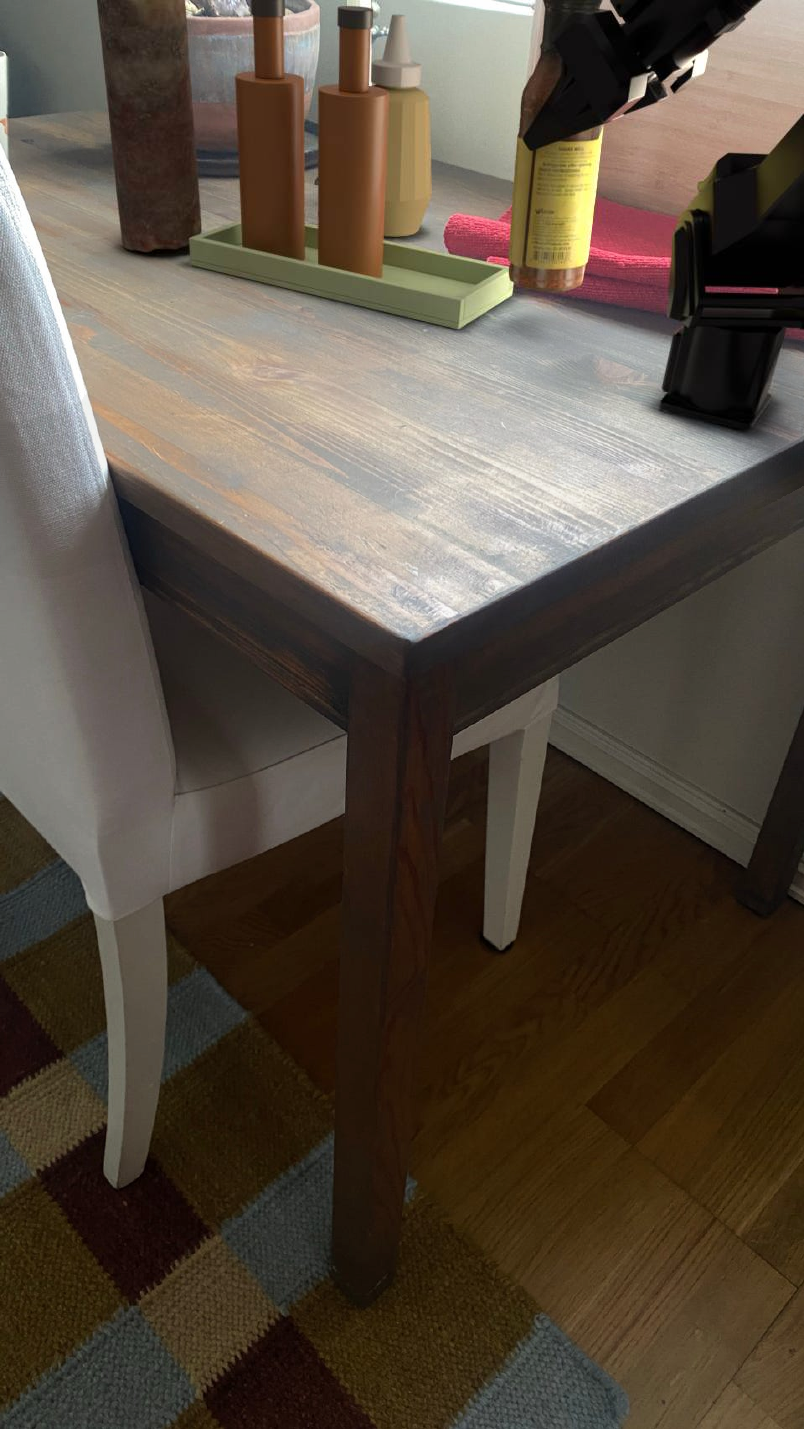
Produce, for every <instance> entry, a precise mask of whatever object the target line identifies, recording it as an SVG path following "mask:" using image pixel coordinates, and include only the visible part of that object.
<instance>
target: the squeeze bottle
mask: <svg viewBox="0 0 804 1429" xmlns="http://www.w3.org/2000/svg"><path fill="white" fill-rule="evenodd" d="M389 23H390V24H389V27H388V32H387V36H386V41H385V45H384V49H383V50H384V51H383V55H382V58H381V59H373V60H372V61H370V67H371V68H370V82H371V83H372V84H373V85H372V86H374V87H379V88H382V89H385V90H387V91H388V92H389V109H388V135H387V160H386V186H385V211H384V237H391V238H393V237H394V238H396V237H407V236H410V235H415V234H416V233H418V232H419V230H420V229H421V225H422V223H423V219H424V217H425V214H426V211H427V208H428V206H429V203H430V201H431V198H432V195H433V194H432V192H433V190H432V189H433V188H432V153H431V152H432V150H431V149H432V148H431V112H430V111H431V110H430V109H431V108H430V107H431V106H430V105H431V104H430V97H429V95H428V94H427V93H426V92H425V91H424V90H422V89H421V88H419V87H420V85H421V84H422V64H421V63H419V62H416V61H412V59H411V52H410V44H409V36H408V28H407V22H406V15H404V14H398V13H397V14H396V13H394V14H391V18H390V22H389Z"/></svg>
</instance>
